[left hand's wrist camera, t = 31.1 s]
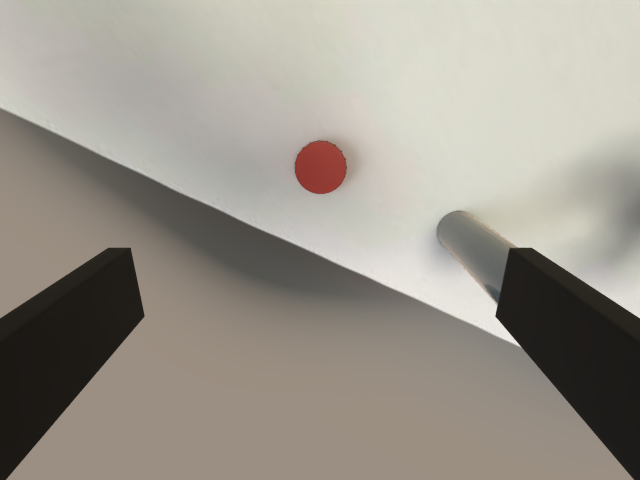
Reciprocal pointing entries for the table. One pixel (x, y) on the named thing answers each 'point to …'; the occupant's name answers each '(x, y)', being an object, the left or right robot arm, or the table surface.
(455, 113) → the table surface
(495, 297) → the jar
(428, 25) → the table surface
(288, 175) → the table surface
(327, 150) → the lid
